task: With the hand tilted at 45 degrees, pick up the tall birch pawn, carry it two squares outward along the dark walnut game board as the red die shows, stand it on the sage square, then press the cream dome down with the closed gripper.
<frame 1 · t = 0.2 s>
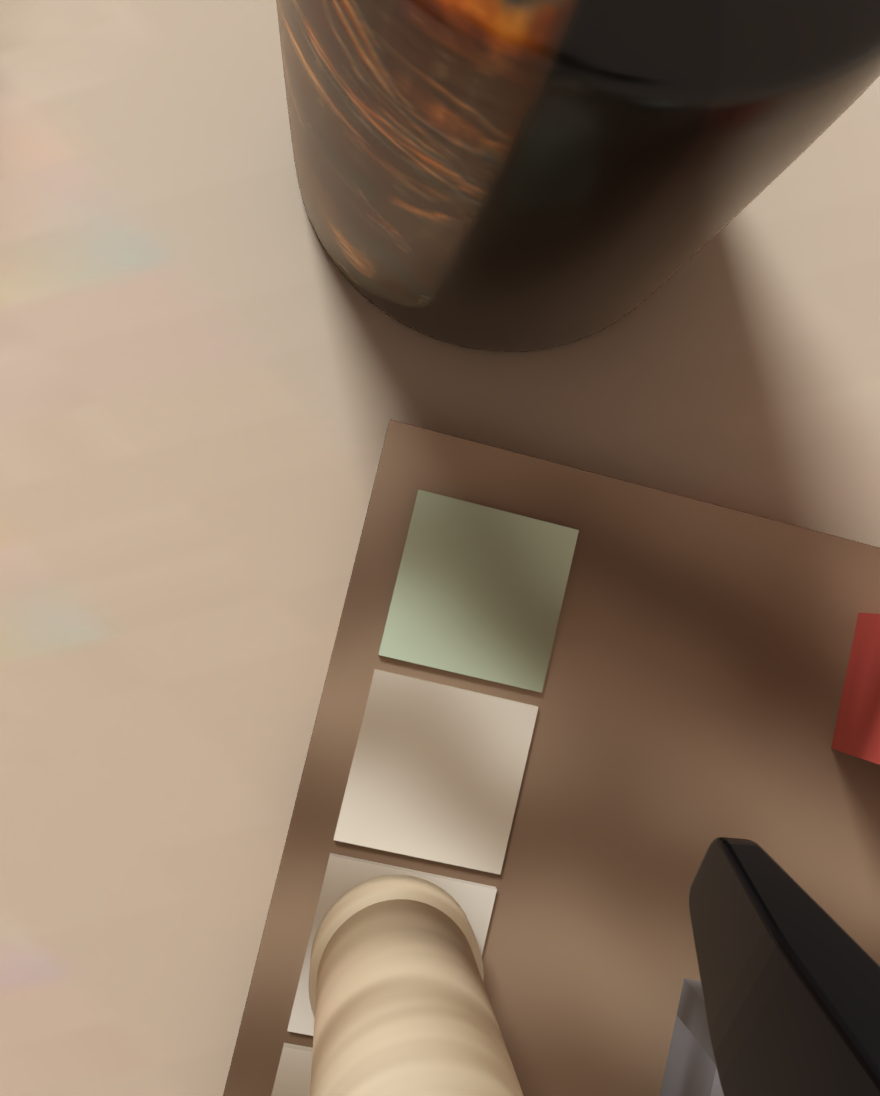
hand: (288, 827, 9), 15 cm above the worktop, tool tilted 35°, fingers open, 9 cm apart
pawn: (394, 959, 22), point 1 cm above the worktop, touching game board
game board: (416, 833, 24), on the worktop
jar: (499, 166, 25), on the worktop
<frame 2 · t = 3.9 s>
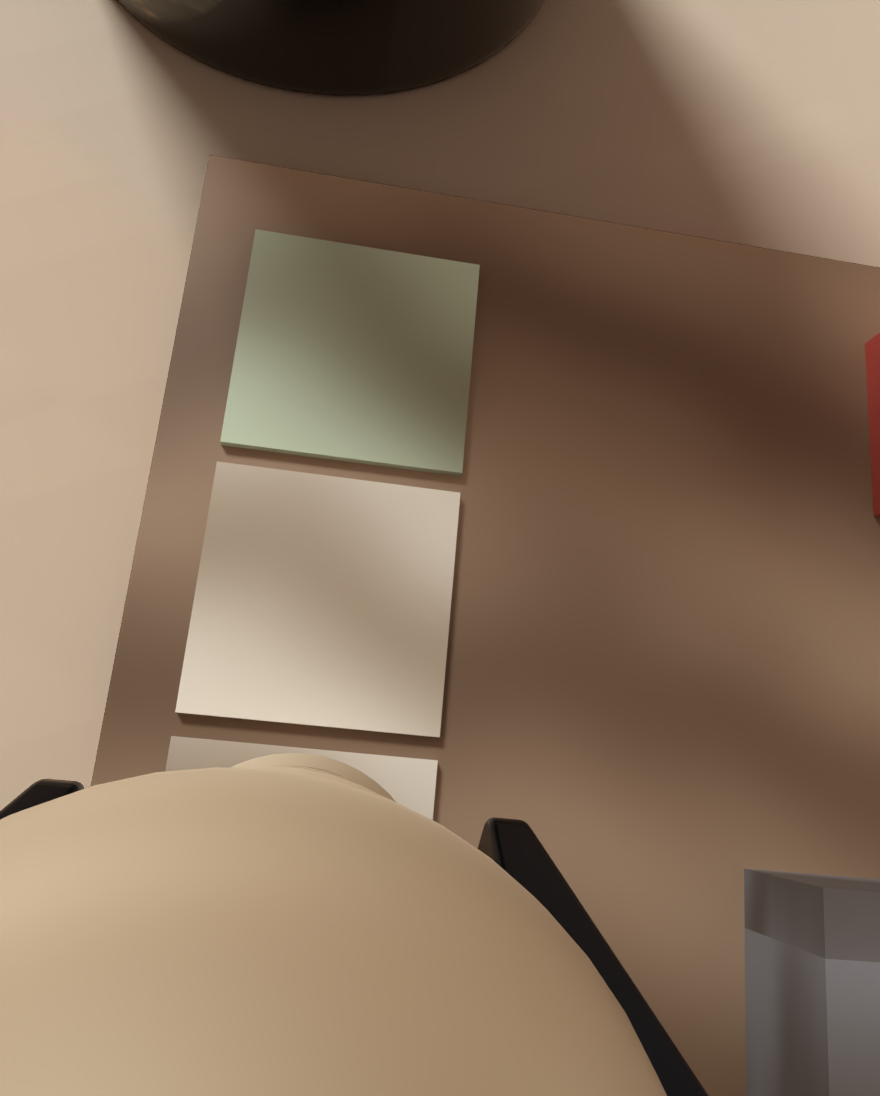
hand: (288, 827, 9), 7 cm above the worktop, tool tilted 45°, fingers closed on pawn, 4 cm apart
pawn: (289, 890, 14), point 1 cm above the worktop, touching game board, gripper
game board: (312, 711, 16), on the worktop
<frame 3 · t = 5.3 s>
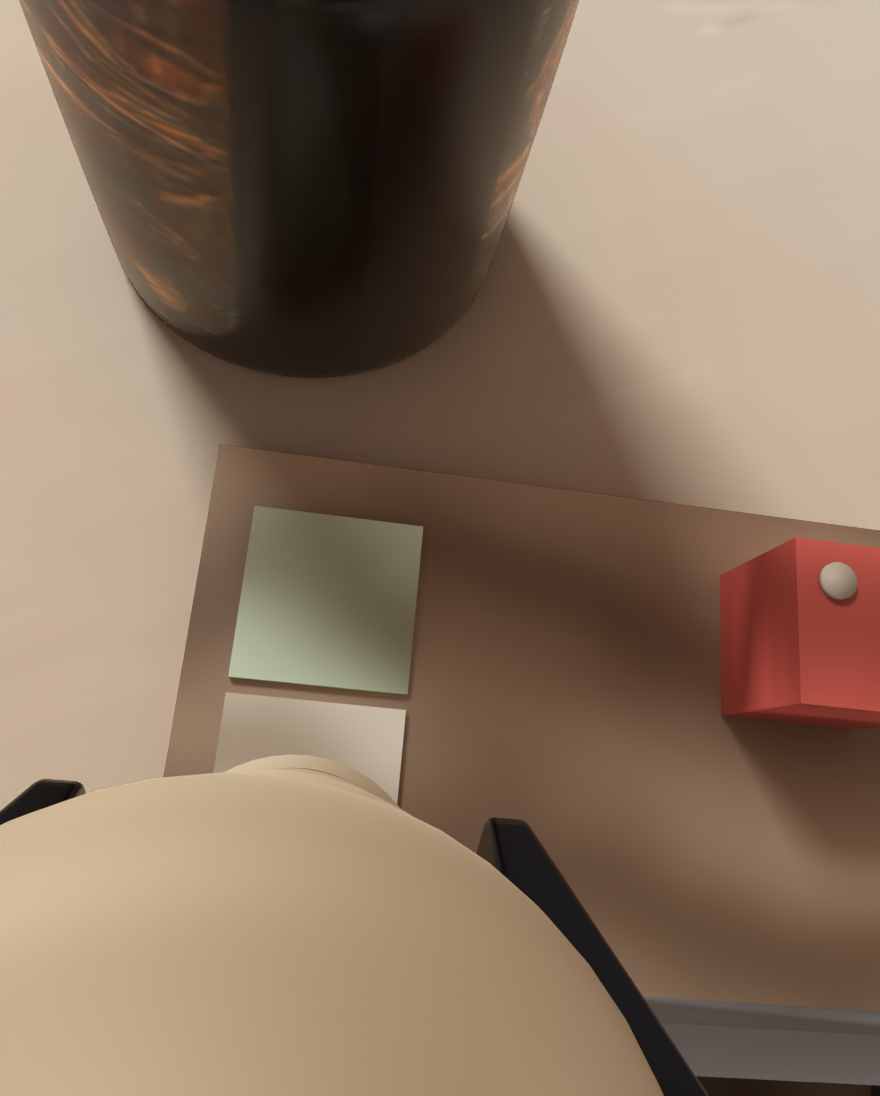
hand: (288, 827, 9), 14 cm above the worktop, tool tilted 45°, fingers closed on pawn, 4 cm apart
pawn: (289, 891, 14), point 8 cm above the worktop, touching gripper
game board: (295, 874, 21), on the worktop
jar: (308, 220, 27), on the worktop
when the fingers open (9 cm above the worktop, at t = 7.2 s): pawn drops 1 cm, resting on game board.
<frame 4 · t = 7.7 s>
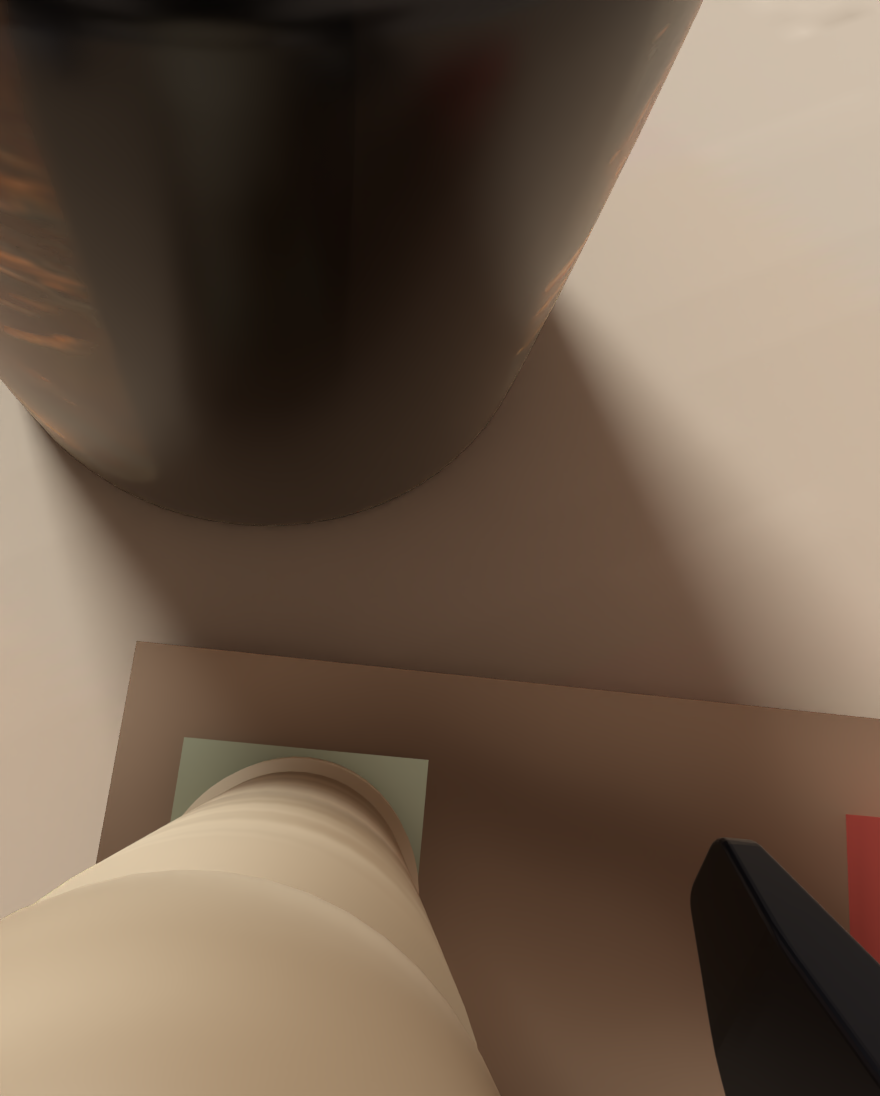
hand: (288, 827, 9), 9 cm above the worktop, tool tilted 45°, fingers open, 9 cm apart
pawn: (291, 882, 15), point 1 cm above the worktop, touching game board
jar: (272, 296, 20), on the worktop
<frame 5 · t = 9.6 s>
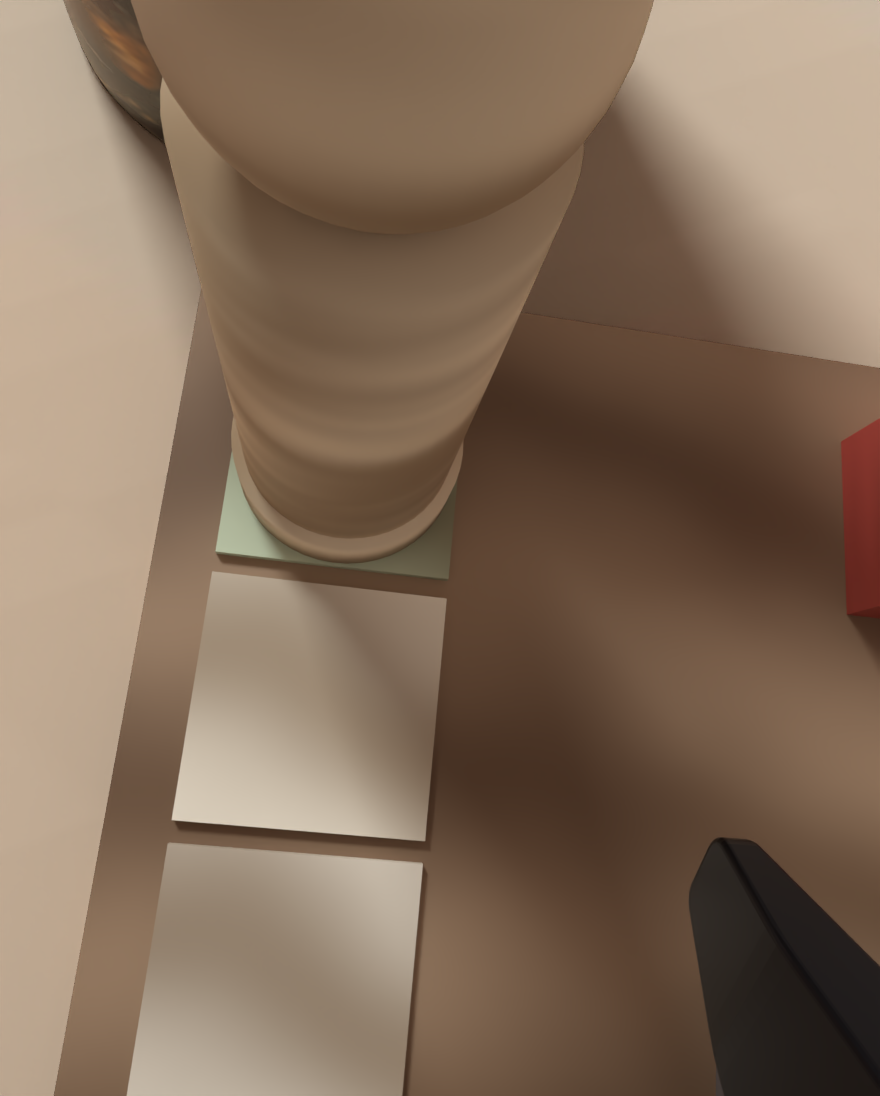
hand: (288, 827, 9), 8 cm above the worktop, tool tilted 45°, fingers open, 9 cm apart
pawn: (347, 458, 17), point 1 cm above the worktop, touching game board
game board: (303, 809, 17), on the worktop
jar: (319, 8, 21), on the worktop
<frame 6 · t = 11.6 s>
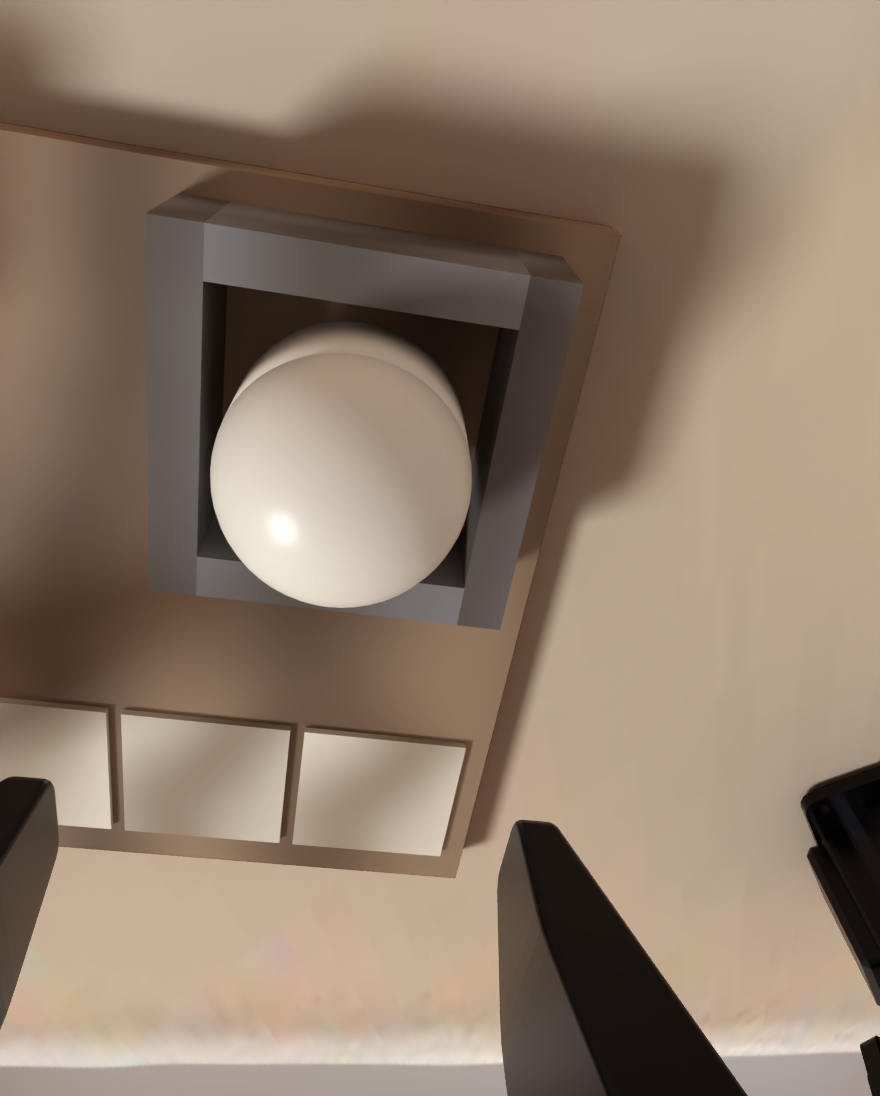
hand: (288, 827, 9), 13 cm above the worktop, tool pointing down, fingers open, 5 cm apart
dome: (343, 479, 16), point 5 cm above the worktop, slide at 0.0 cm
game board: (110, 743, 25), on the worktop
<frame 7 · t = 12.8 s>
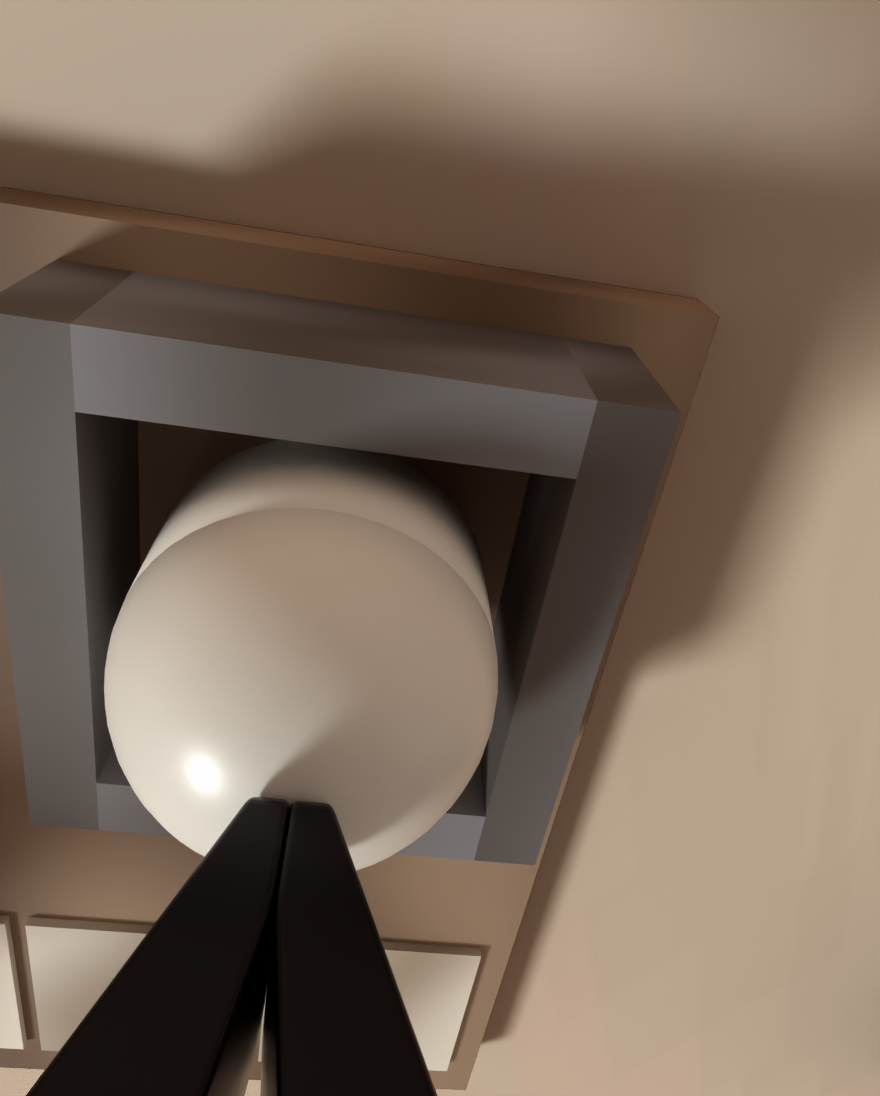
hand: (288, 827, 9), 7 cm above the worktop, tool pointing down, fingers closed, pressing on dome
dome: (308, 676, 11), point 4 cm above the worktop, slide at 0.7 cm, touching gripper
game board: (22, 940, 19), on the worktop
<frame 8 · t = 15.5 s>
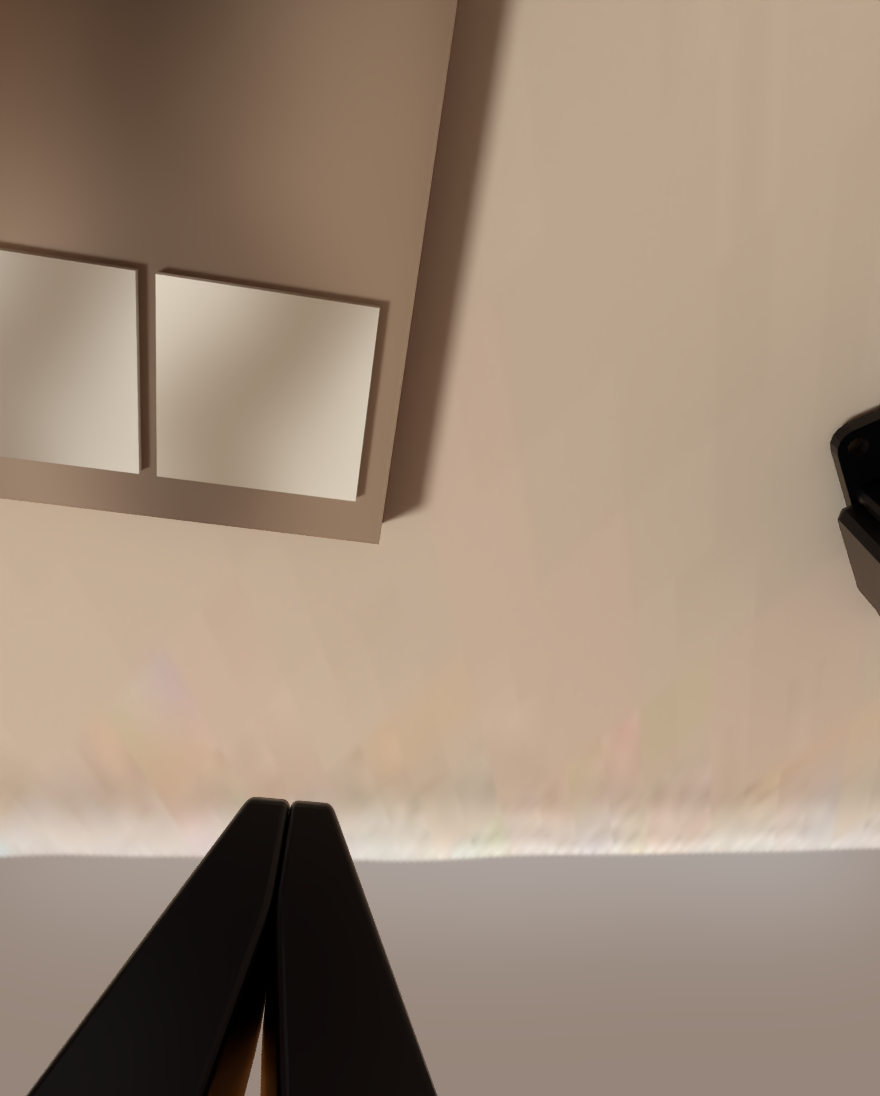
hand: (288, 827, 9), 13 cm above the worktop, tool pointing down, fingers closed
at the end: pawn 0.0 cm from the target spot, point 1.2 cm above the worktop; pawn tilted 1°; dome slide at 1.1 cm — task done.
